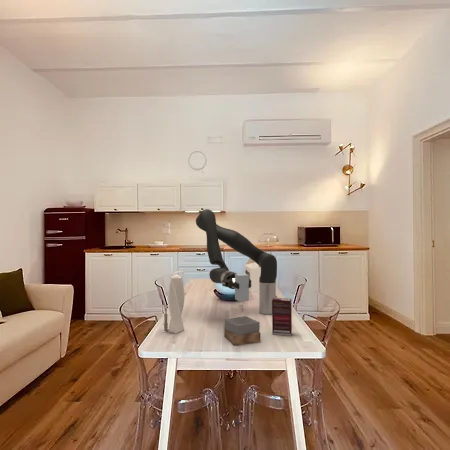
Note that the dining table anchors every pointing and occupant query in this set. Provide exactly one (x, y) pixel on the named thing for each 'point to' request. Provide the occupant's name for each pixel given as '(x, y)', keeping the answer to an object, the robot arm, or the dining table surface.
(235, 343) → the walnut slab
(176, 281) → the skyscraper
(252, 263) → the gable box
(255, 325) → the charcoal block
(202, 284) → the dining table surface
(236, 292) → the slate block
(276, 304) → the supplement box
